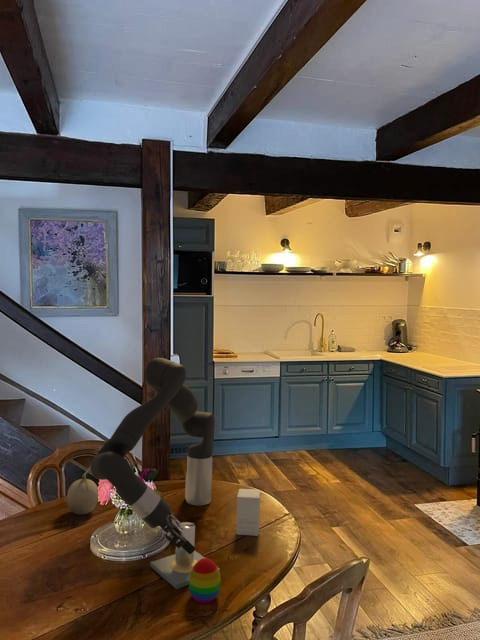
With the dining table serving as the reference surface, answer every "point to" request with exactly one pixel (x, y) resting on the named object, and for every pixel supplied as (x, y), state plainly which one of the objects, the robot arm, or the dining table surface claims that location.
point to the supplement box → (248, 512)
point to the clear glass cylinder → (181, 555)
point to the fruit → (82, 495)
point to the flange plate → (175, 570)
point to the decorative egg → (204, 581)
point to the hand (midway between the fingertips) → (191, 546)
